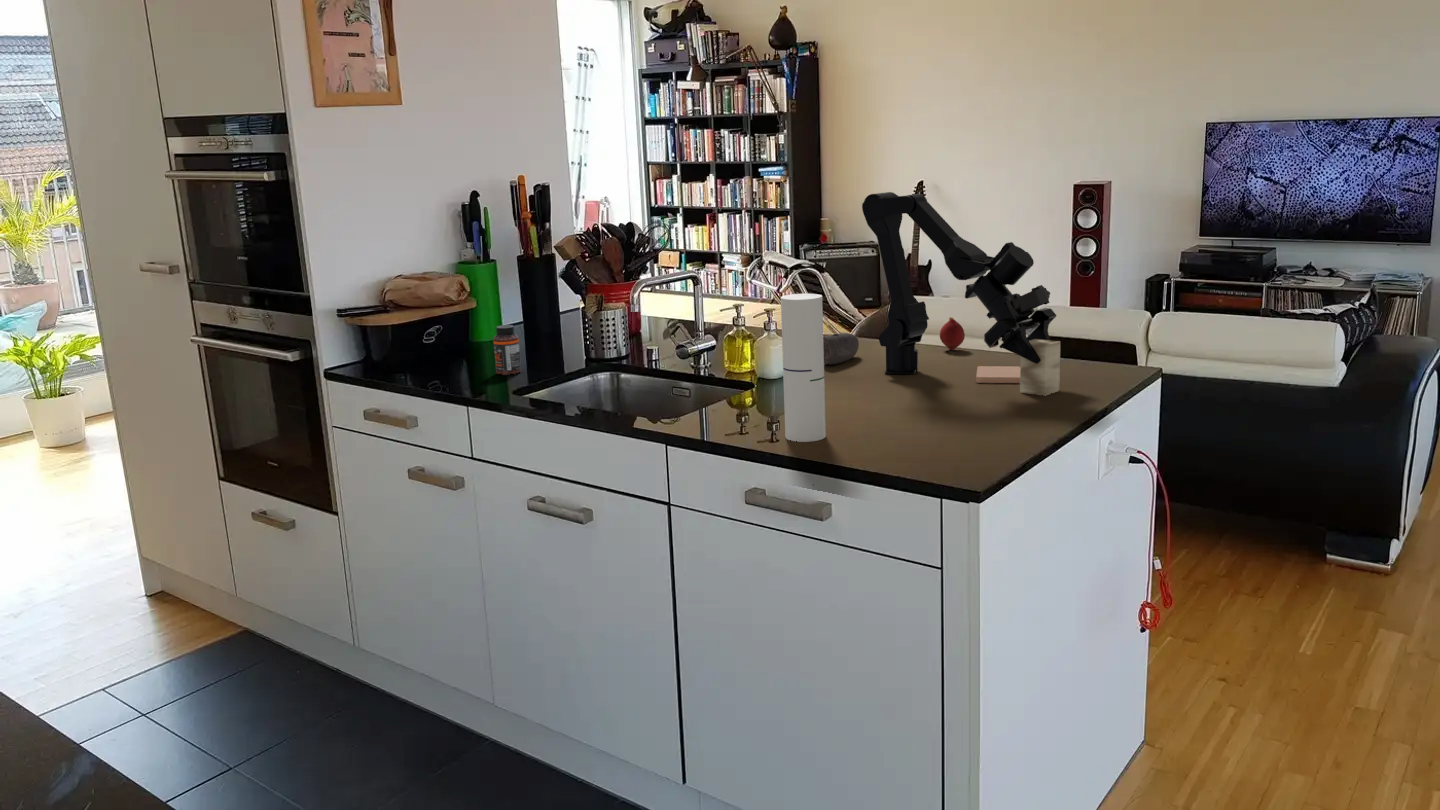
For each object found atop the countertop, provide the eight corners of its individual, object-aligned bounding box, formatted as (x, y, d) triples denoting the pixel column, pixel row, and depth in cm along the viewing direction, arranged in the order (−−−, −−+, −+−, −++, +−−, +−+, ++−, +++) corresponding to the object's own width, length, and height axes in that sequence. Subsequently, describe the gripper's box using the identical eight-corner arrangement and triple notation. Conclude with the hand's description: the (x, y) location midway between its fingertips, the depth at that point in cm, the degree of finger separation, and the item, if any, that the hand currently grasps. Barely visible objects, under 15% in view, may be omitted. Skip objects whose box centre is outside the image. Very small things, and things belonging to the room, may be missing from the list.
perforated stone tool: (848, 355, 269) (848, 326, 268) (867, 357, 266) (867, 328, 264) (812, 366, 258) (811, 337, 257) (831, 369, 255) (830, 338, 253)
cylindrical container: (782, 432, 203) (778, 295, 197) (821, 430, 203) (818, 292, 197) (788, 443, 196) (783, 300, 190) (828, 440, 196) (825, 298, 190)
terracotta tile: (976, 382, 234) (976, 377, 234) (977, 371, 245) (977, 366, 244) (1030, 383, 232) (1030, 377, 231) (1029, 371, 242) (1029, 366, 242)
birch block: (1020, 392, 224) (1020, 343, 222) (1034, 387, 228) (1035, 338, 226) (1044, 395, 220) (1045, 345, 218) (1059, 390, 224) (1060, 341, 222)
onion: (963, 347, 272) (963, 314, 270) (965, 352, 266) (966, 318, 264) (938, 348, 272) (938, 315, 270) (940, 352, 267) (940, 319, 265)
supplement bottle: (491, 373, 267) (487, 326, 264) (513, 369, 271) (508, 323, 268) (504, 376, 263) (500, 329, 260) (526, 372, 267) (522, 325, 264)
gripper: (998, 279, 215) (1048, 341, 210) (1048, 268, 228) (1097, 326, 223) (963, 316, 223) (1011, 377, 217) (1013, 304, 235) (1060, 361, 230)
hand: (1046, 359), depth 222 cm, fingers closed on birch block, 5 cm apart
